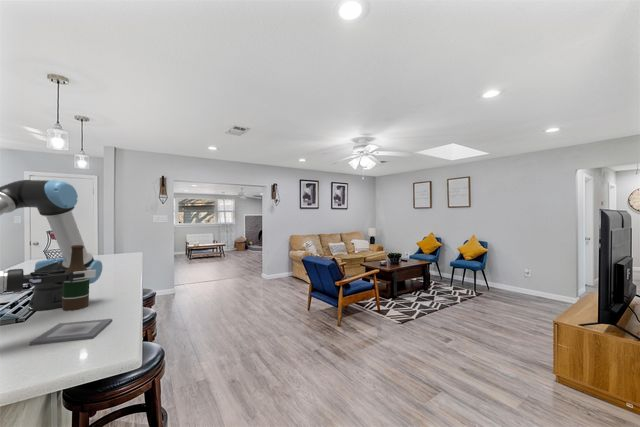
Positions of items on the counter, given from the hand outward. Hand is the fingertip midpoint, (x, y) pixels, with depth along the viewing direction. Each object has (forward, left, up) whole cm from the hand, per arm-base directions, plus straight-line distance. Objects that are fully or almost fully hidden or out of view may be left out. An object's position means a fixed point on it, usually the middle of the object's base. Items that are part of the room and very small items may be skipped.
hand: (93, 272), depth 110 cm
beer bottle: (+3, -4, -13) cm, 14 cm away
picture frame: (+2, -4, -22) cm, 23 cm away
